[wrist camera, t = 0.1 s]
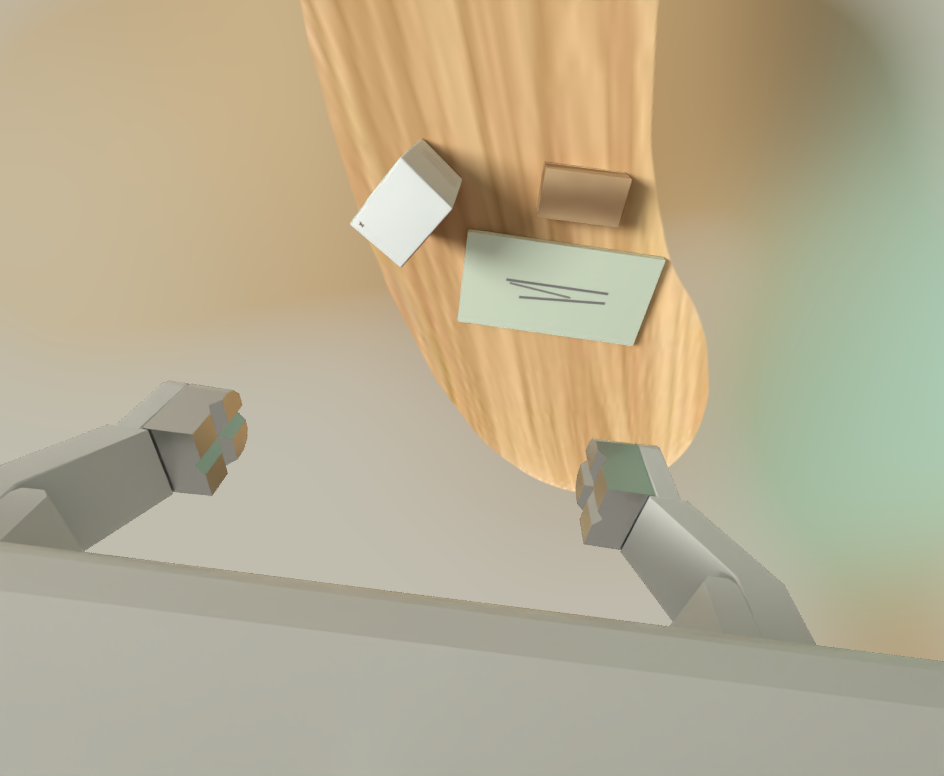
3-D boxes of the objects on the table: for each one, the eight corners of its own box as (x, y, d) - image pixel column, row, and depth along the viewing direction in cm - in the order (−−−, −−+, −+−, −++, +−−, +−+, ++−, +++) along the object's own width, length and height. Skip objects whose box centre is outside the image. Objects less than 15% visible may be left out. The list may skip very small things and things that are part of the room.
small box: (420, 231, 55) (400, 270, 45) (378, 192, 53) (346, 224, 43) (465, 179, 52) (454, 208, 41) (422, 135, 49) (399, 155, 39)
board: (468, 228, 55) (467, 231, 54) (662, 256, 55) (665, 260, 54) (458, 317, 62) (457, 321, 61) (630, 341, 62) (632, 346, 61)
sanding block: (544, 161, 50) (546, 167, 47) (624, 171, 50) (632, 179, 47) (535, 207, 53) (537, 217, 50) (611, 217, 53) (618, 227, 50)
